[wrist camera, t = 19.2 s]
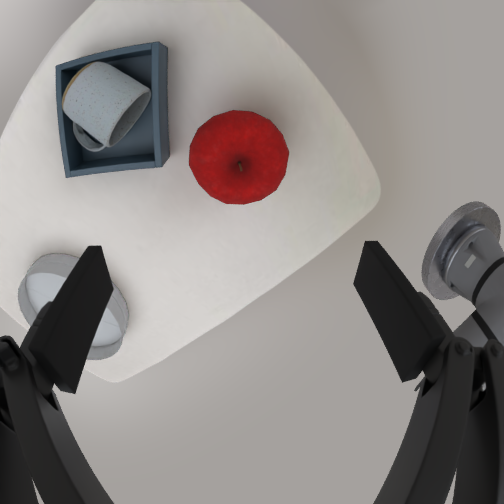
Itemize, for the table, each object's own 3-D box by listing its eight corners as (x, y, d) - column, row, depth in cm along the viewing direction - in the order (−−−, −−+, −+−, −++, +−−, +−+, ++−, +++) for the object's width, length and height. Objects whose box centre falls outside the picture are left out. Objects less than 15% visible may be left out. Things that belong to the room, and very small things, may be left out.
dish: (141, 283, 43) (134, 304, 38) (119, 354, 52) (115, 372, 48) (28, 234, 35) (13, 251, 31) (31, 316, 45) (22, 333, 41)
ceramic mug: (108, 58, 23) (78, 55, 17) (159, 89, 27) (140, 91, 20) (67, 130, 28) (35, 145, 21) (114, 160, 31) (88, 181, 25)
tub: (167, 47, 25) (159, 41, 21) (169, 156, 32) (162, 167, 28) (74, 66, 23) (55, 65, 20) (82, 166, 31) (65, 178, 27)
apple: (290, 129, 32) (317, 148, 23) (252, 193, 36) (263, 234, 27) (217, 93, 29) (214, 94, 20) (182, 161, 33) (167, 193, 24)
